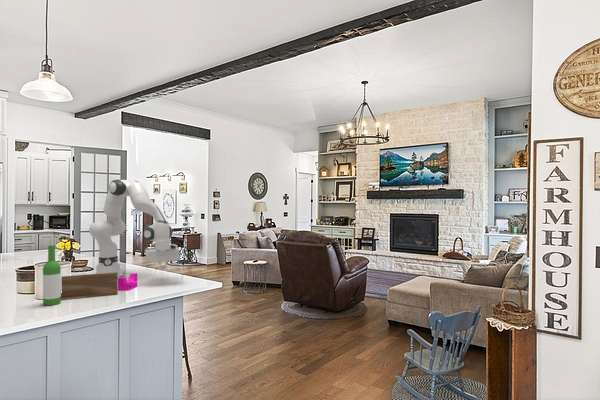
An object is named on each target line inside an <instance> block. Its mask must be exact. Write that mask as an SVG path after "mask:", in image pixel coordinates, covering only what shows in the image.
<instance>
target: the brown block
mask: <svg viewBox="0 0 600 400" xmlns="http://www.w3.org/2000/svg"><path fill="white" fill-rule="evenodd" d="M61 291H62V293H61V301H66V300H68V299H69V300H76V299H77V300H79V299H86V298H96V297H97V298H98V297H108V296H117V295H119V294H118V277H117V272H114V273H101V274H96V273H89V274H77V275H64V276H62V275H61Z"/></svg>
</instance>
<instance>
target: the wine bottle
mask: <svg viewBox="0 0 600 400" xmlns="http://www.w3.org/2000/svg"><path fill="white" fill-rule="evenodd" d="M47 250H48V255H47V258H48V259H47V262H45V263H44V264H43V267H42V304H43V305H44V306H55V304H56V305H59V304H60V303H61V302H62V300H61V291H62V286H61V277H62V274H61V273H62V272H61V271H62V270H61V268H62V267H61V264H60V263H59V262H58V261H57V260H56V245H55V244H50V245H48V246H47Z"/></svg>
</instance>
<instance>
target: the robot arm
mask: <svg viewBox="0 0 600 400" xmlns="http://www.w3.org/2000/svg"><path fill="white" fill-rule="evenodd" d="M126 197H129V198H130V201H131V204H132V206H133V208H134V209H135V210H136V211H139V212H142V213H145V214H147V215H149V216H151V217H152V218H153V219H154V220H155V222H154V223H153V224H152V225H149V226H146V227H145V228H144V230H143V237H144V239H145V240H146V241H148V242H154V246H152V247H146V248H144V255H145V258H144V259H145V260H144V261H145V263H147V264H149V263H150V264H151V263H158V265H159V266H160V270H165V269H166V266H167V264H168V262H173V261H174V262H175V261H180V260H181V255H180V254H181V253H180V251H179V249H178V245H177V244H174V243H171V237H172V235H173V229H172V227H171V226H170V224H169V221H167V220H166V217H164V215H163V213H162V211H161V210H160V208H159V207H158V205H157V204H156V203H154V202H153V200H152V199H151V198H150V196H149V194H148V192H147V189H146V188H145V186H144V184H143V183H142V182H139V181H137V180H131V179H113V180H112V181H110V182H109V184H108V192H107V195H106V197H105V201H104V205H103V213H104V214H105V215H106V216H107V219H106V220H99V221H94V222H92V223H91V224H90V225H89V228H88V231H89V234H90V235H91V237H93V238H94V239H95V240H96V243H97V245H98V254H99V255H98V256H99V257H98V264H97V265H96V266H95V274H101V273H114V272H117V278H120V277H123V276H124V273H122V272H121V271H122V269H121V263H119V255H118V245H117V243H116V242H114V241H113V239H112V237H114V236H116V237H117V236H119V235H122V234H124V233H125V231H126V224H125V222H124V221H123V219H122V210H123V207H124V206H123V205H124V203H125V202H124V201H125V198H126ZM163 262H164V265H162V263H163Z"/></svg>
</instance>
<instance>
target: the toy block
mask: <svg viewBox="0 0 600 400" xmlns="http://www.w3.org/2000/svg"><path fill="white" fill-rule="evenodd" d="M117 283H118V291H120V292H121V291H123V292H126V291H127V292H129V291H130V290H133V289H136V288H138V273H137V272H136V273H135V272H134V273H133V272H132V273H131V272H130V273H129V277H128V279H127V277H126V276H125V277H123V276H120V277H117Z"/></svg>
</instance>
